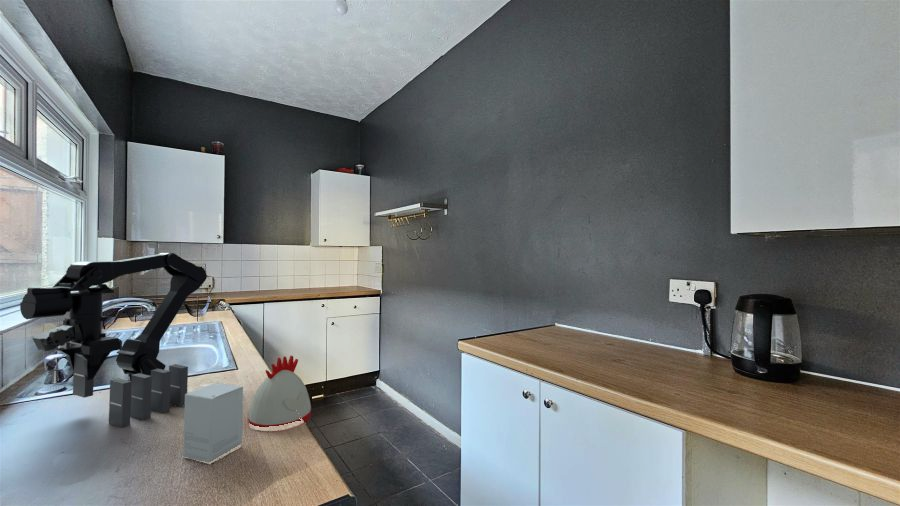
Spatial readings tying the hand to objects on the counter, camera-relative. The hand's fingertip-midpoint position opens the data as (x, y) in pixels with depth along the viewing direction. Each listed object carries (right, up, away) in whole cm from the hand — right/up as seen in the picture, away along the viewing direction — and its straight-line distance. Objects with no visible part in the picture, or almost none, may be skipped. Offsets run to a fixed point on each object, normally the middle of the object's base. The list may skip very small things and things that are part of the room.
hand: (83, 377), depth 89 cm
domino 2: (+12, -9, -4) cm, 16 cm away
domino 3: (+14, -9, 0) cm, 17 cm away
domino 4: (+16, -9, +4) cm, 19 cm away
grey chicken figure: (+47, -10, +1) cm, 48 cm away
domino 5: (+17, -10, +7) cm, 21 cm away
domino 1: (0, -4, 0) cm, 4 cm away
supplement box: (+41, -10, -15) cm, 45 cm away
